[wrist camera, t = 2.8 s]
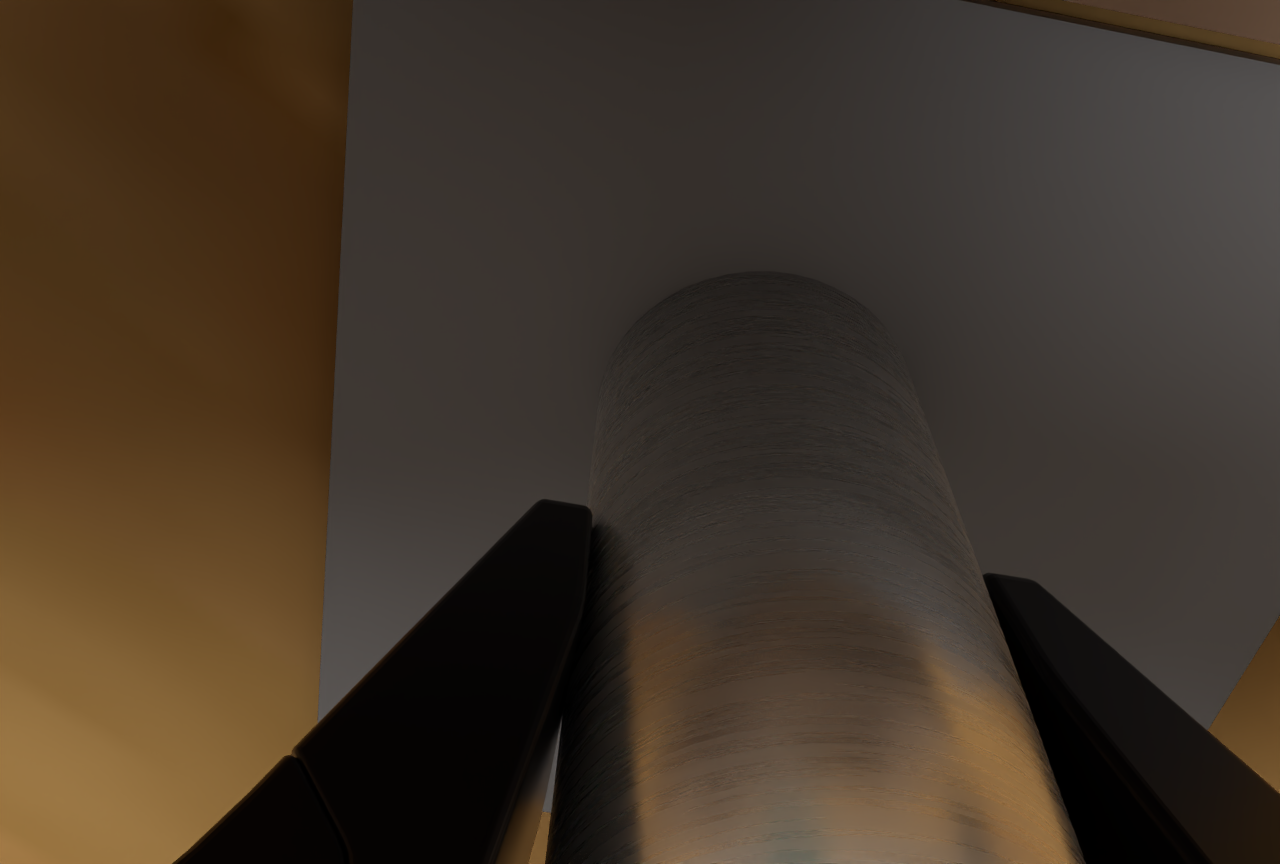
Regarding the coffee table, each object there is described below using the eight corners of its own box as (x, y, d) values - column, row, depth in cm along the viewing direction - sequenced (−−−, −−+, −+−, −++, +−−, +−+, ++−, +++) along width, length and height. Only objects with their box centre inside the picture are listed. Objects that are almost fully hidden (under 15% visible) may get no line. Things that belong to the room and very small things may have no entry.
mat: (1097, 872, 15) (1105, 893, 15) (320, 759, 14) (314, 778, 14) (1562, 116, 10) (1586, 126, 9) (367, -126, 9) (359, -122, 9)
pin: (861, 562, 12) (1260, 2348, 4) (576, 514, 12) (348, 2297, 4) (955, 304, 10) (1974, 2400, 2) (627, 243, 10) (429, 2321, 2)
